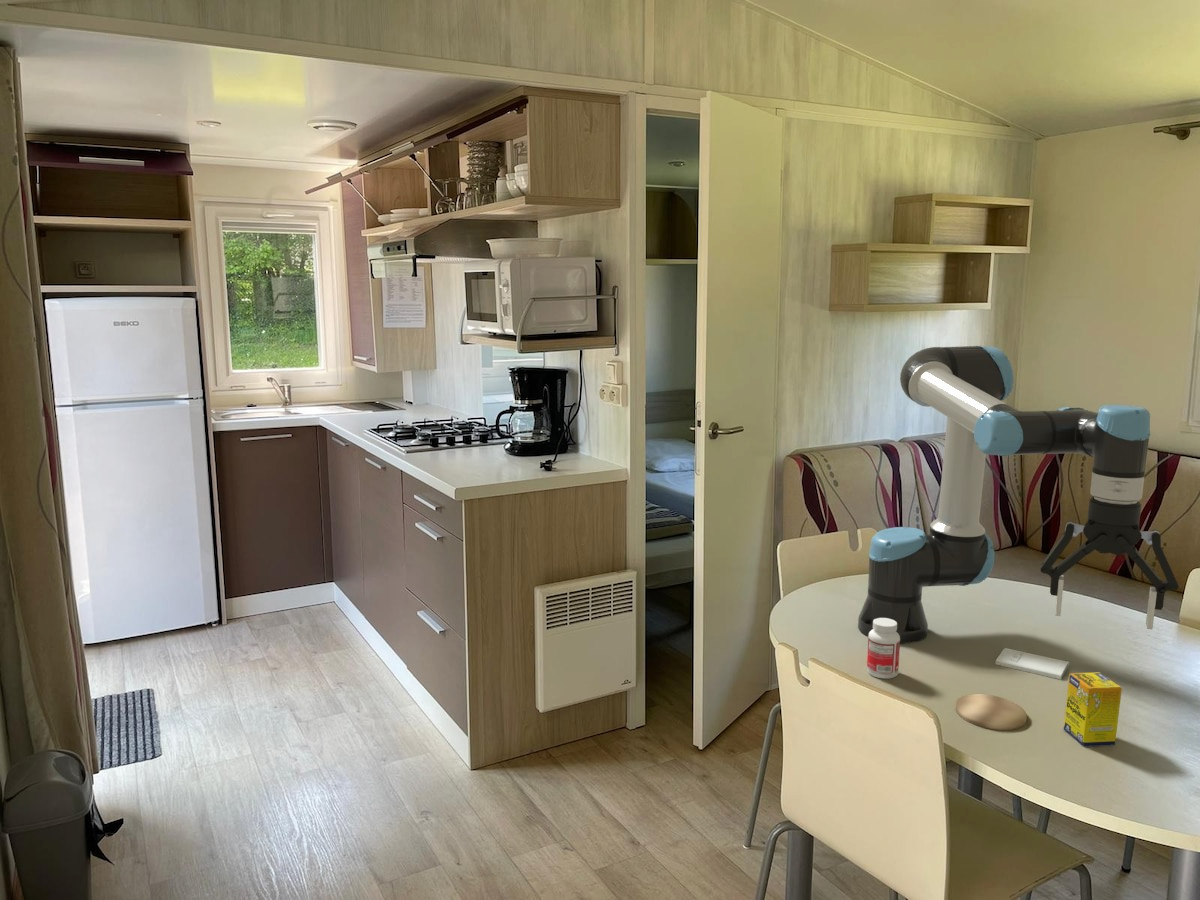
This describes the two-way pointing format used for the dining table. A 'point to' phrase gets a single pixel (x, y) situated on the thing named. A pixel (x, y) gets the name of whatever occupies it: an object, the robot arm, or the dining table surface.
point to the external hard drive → (1032, 663)
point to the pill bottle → (883, 649)
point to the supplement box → (1092, 709)
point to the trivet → (991, 712)
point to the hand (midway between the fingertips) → (1102, 620)
